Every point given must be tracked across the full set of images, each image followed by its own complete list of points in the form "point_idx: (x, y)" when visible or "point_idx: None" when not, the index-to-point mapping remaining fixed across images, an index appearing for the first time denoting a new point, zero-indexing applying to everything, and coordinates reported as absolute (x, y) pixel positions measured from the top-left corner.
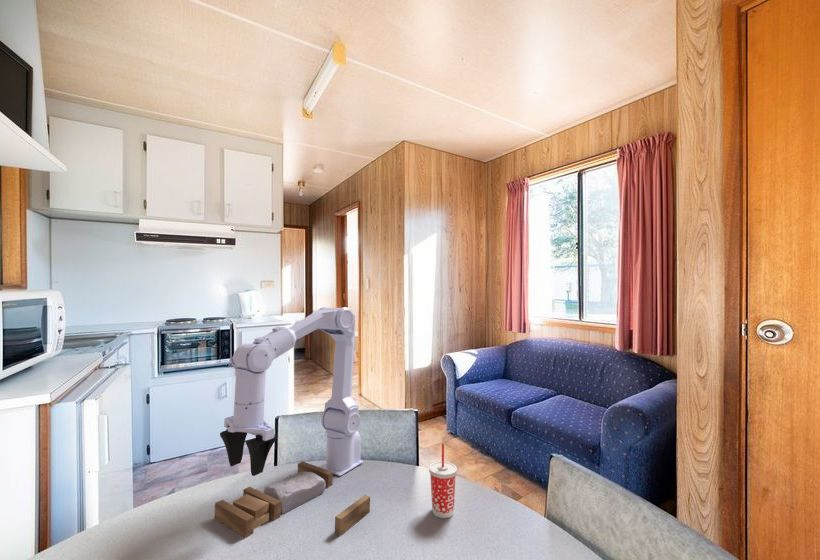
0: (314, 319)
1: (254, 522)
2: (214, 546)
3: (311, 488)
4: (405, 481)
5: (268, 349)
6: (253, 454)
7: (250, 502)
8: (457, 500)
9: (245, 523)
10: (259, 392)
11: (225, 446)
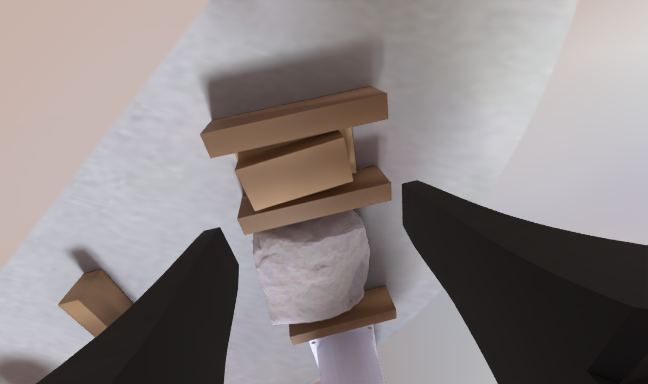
0: None
1: (236, 156)
2: (228, 37)
3: (266, 297)
4: None
5: None
6: (78, 355)
7: (298, 175)
8: None
9: (208, 129)
10: None
11: (529, 221)
